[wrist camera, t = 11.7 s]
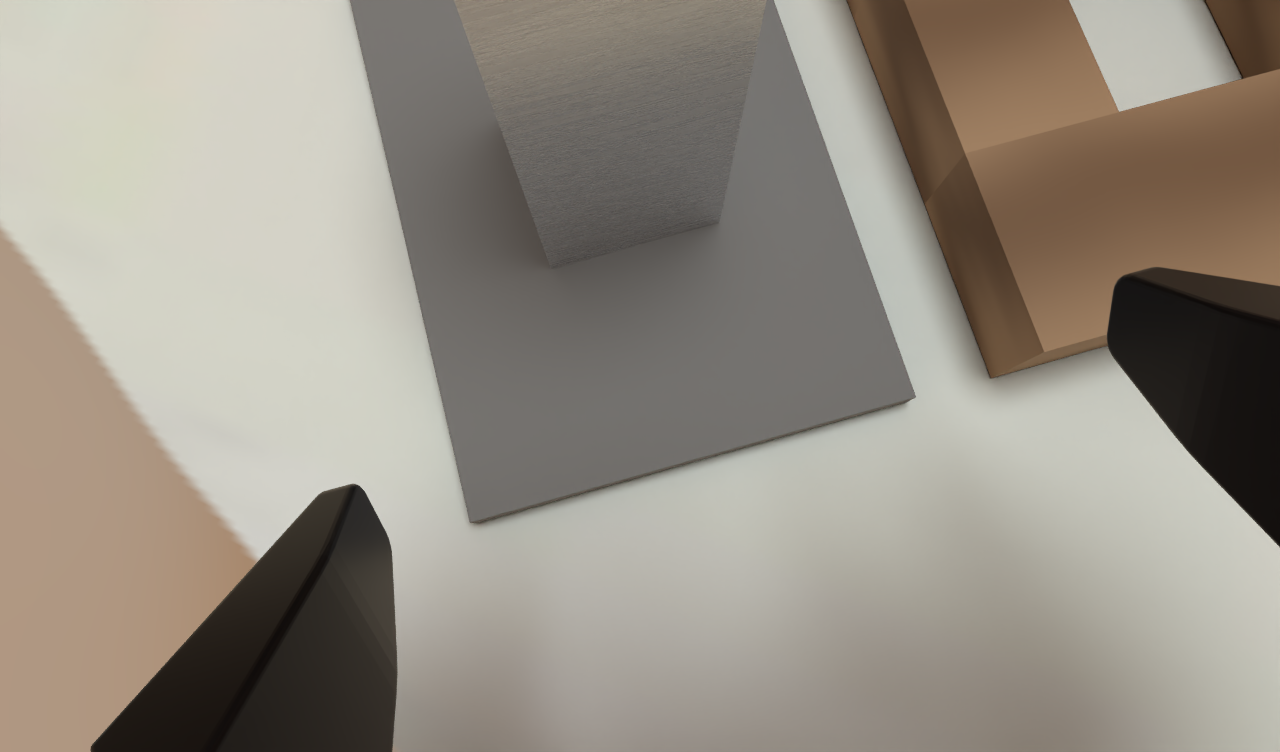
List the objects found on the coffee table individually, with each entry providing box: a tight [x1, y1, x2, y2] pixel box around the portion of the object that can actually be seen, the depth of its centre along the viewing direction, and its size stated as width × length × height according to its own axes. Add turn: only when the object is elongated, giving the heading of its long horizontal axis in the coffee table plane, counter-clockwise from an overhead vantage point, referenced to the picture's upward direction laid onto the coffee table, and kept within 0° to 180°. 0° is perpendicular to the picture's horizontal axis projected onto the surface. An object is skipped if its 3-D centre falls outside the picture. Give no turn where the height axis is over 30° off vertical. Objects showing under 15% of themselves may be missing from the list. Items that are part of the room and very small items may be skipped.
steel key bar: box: [454, 0, 767, 269], centre depth 13 cm, size 4×4×11 cm
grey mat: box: [350, 0, 916, 523], centre depth 19 cm, size 14×10×1 cm
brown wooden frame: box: [847, 0, 1280, 378], centre depth 18 cm, size 14×12×2 cm
